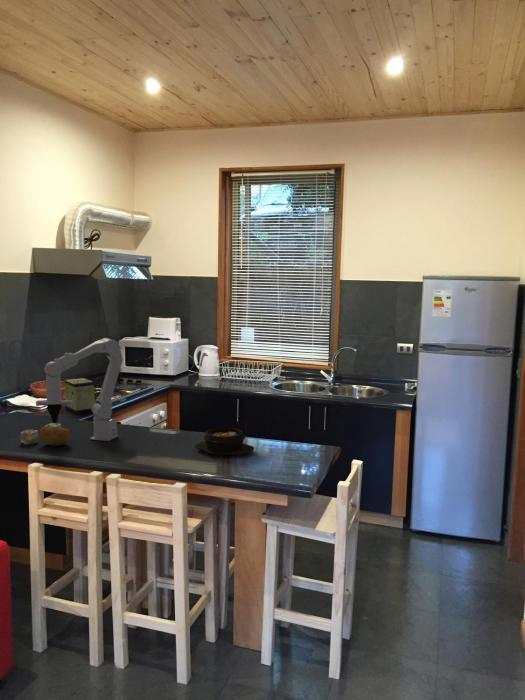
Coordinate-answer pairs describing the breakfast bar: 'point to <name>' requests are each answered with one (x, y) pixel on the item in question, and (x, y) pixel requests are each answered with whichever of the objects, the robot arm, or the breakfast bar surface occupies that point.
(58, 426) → the pip block two
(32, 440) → the pip block four
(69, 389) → the protein box
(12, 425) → the breakfast bar surface
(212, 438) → the casserole
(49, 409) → the robot arm
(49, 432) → the potato
